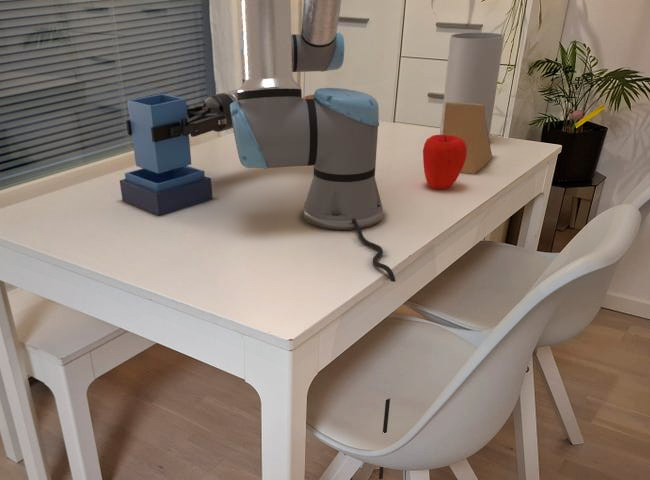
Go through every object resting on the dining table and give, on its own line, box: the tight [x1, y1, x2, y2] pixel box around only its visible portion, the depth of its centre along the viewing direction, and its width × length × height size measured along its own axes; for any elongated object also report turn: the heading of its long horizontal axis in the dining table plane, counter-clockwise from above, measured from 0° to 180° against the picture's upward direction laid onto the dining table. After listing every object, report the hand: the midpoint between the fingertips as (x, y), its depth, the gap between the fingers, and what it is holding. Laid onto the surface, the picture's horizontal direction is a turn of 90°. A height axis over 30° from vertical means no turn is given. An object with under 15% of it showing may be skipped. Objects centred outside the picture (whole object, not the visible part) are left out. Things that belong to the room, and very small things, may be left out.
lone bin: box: [127, 93, 192, 174], centre depth 137 cm, size 8×8×13 cm
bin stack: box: [119, 165, 213, 217], centre depth 143 cm, size 14×14×6 cm
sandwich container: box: [443, 102, 493, 175], centre depth 156 cm, size 9×15×15 cm, turn 148°
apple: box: [422, 134, 467, 190], centre depth 143 cm, size 9×9×11 cm
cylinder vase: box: [439, 32, 505, 137], centre depth 170 cm, size 12×12×25 cm
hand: (140, 131), depth 134 cm, fingers closed on lone bin, 8 cm apart
